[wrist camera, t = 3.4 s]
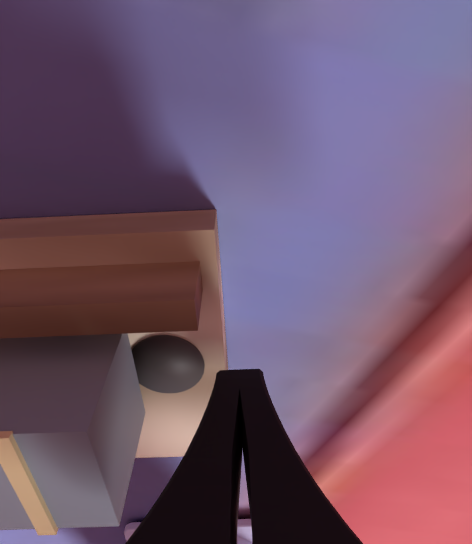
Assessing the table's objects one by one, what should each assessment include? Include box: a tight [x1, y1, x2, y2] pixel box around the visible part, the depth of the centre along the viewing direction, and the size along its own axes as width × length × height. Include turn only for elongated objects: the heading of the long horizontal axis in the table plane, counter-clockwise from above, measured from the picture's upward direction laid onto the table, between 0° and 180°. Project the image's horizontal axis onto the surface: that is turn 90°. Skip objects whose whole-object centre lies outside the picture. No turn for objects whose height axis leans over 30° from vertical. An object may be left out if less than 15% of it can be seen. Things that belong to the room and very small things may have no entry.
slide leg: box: [0, 333, 145, 535], centre depth 12 cm, size 4×4×4 cm
